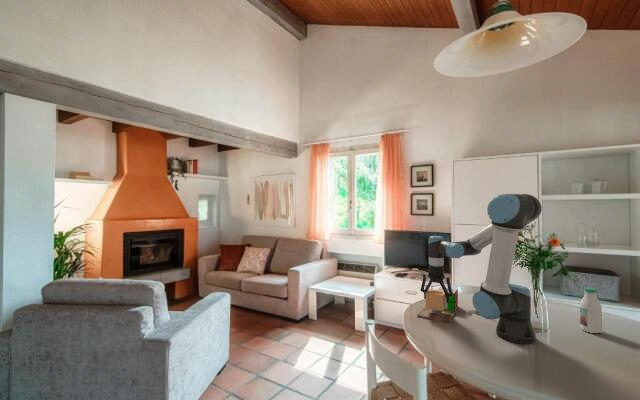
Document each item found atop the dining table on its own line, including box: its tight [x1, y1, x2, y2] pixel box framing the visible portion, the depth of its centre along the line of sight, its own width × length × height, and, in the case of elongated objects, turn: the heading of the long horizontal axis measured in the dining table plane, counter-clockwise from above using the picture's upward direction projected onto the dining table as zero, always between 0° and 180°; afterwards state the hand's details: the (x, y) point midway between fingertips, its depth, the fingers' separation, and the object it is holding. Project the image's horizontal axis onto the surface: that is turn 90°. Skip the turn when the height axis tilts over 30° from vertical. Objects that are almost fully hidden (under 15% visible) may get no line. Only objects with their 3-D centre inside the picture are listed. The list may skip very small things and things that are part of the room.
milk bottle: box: [579, 286, 603, 334], centre depth 143 cm, size 8×8×20 cm
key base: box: [416, 306, 457, 324], centre depth 165 cm, size 16×16×7 cm
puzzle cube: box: [437, 287, 459, 312], centre depth 177 cm, size 10×10×10 cm
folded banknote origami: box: [467, 309, 482, 317], centre depth 166 cm, size 15×10×13 cm
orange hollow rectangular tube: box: [425, 288, 446, 311], centre depth 165 cm, size 9×9×8 cm
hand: (436, 306), depth 165 cm, fingers closed on orange hollow rectangular tube, 9 cm apart
